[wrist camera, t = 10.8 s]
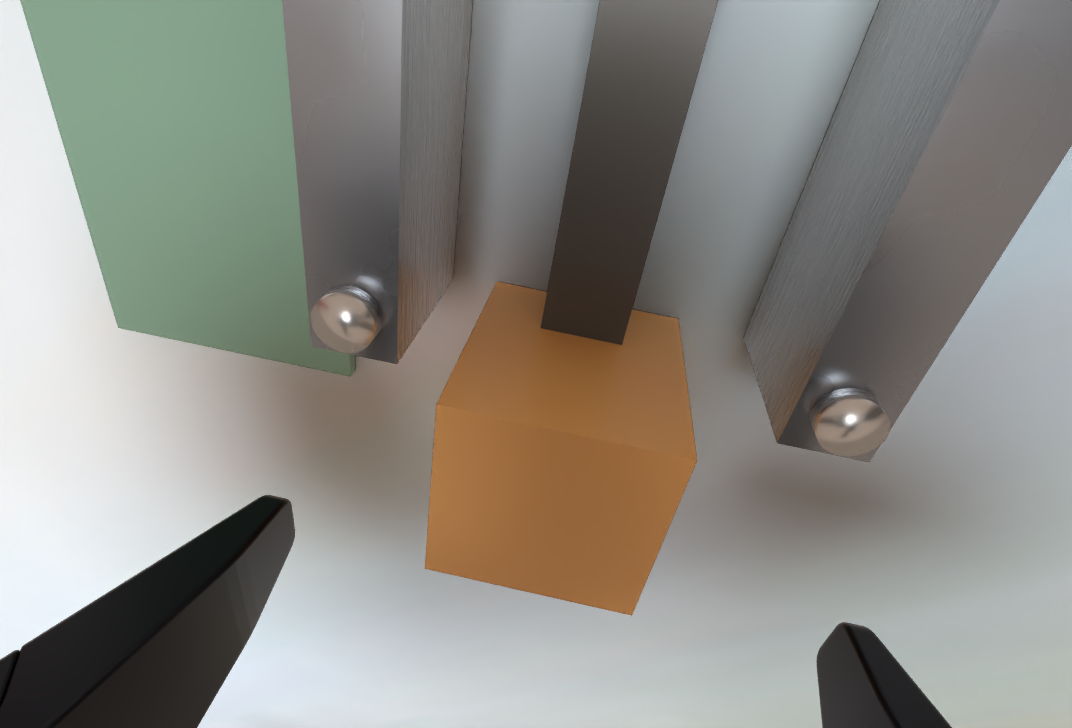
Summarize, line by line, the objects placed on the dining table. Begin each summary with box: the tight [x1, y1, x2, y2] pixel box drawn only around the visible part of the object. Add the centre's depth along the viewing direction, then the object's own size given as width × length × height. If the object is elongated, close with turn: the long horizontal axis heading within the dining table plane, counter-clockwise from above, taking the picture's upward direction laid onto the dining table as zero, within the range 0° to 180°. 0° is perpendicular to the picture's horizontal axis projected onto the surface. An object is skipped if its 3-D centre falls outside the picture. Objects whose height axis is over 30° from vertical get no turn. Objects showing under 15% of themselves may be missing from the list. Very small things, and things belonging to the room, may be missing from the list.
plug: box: [425, 0, 718, 615], centre depth 9 cm, size 12×4×4 cm, turn 171°
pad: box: [20, 0, 355, 376], centre depth 11 cm, size 6×12×1 cm, turn 171°
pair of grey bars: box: [282, 0, 1072, 462], centre depth 9 cm, size 9×8×4 cm
